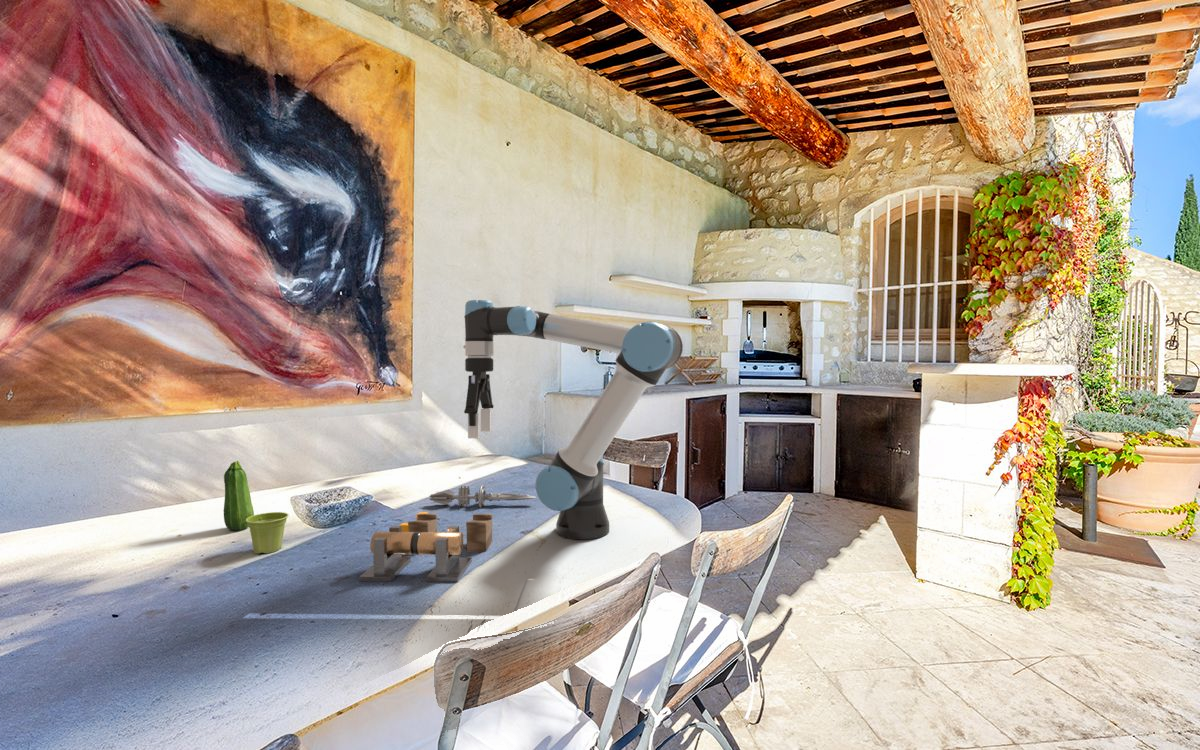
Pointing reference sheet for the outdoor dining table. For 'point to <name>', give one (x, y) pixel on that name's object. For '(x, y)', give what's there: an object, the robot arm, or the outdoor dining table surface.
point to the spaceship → (465, 496)
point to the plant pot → (267, 531)
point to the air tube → (419, 542)
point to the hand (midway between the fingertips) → (479, 434)
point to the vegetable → (236, 498)
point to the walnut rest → (476, 529)
